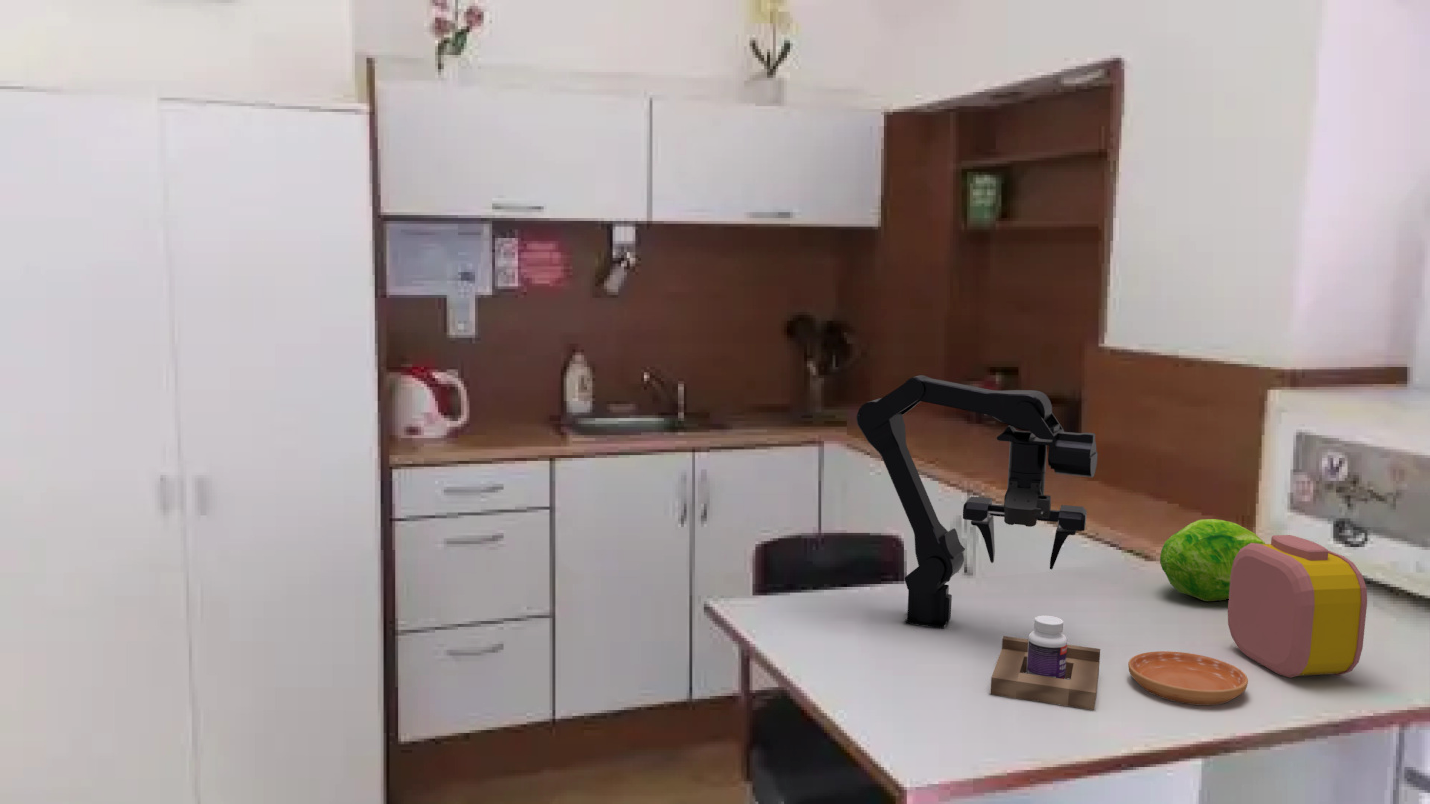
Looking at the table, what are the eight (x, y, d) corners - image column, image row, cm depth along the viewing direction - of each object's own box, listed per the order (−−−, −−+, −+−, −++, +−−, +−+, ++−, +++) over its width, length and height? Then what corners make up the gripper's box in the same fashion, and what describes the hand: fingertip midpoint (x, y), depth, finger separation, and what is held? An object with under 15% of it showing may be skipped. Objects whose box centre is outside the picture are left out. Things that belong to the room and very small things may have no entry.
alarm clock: (1364, 686, 165) (1377, 558, 162) (1296, 690, 163) (1308, 560, 160) (1281, 642, 183) (1291, 526, 180) (1219, 645, 181) (1228, 527, 178)
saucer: (1112, 667, 171) (1113, 648, 171) (1218, 670, 171) (1220, 651, 171) (1149, 710, 156) (1151, 689, 155) (1266, 713, 155) (1268, 692, 155)
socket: (990, 694, 159) (991, 667, 159) (1002, 661, 172) (1003, 636, 172) (1094, 710, 155) (1096, 682, 154) (1098, 674, 167) (1100, 649, 167)
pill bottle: (1066, 693, 160) (1070, 627, 159) (1027, 689, 161) (1030, 624, 160) (1062, 679, 166) (1066, 615, 164) (1024, 675, 167) (1028, 612, 165)
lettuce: (1213, 571, 220) (1285, 604, 206) (1131, 586, 209) (1202, 622, 196) (1228, 500, 216) (1302, 529, 203) (1145, 512, 205) (1218, 543, 192)
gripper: (959, 474, 175) (955, 572, 177) (1085, 485, 169) (1079, 586, 171) (970, 462, 185) (965, 554, 188) (1089, 471, 179) (1083, 567, 181)
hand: (1021, 565), depth 181 cm, fingers open, 9 cm apart
